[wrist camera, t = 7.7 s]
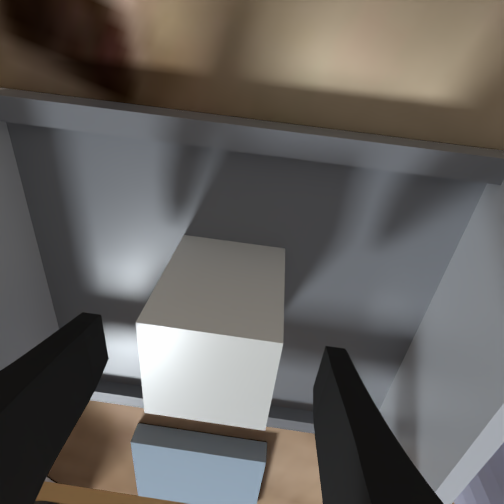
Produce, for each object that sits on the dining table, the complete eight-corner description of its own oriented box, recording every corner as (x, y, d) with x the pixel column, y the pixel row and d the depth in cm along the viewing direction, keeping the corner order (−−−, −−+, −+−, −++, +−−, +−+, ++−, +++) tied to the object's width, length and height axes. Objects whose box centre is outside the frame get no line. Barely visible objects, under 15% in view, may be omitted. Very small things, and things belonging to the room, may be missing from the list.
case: (518, 152, 11) (682, 231, 7) (382, 423, 19) (413, 548, 14) (-15, 85, 12) (-219, 114, 7) (64, 376, 20) (-8, 482, 15)
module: (285, 248, 14) (283, 343, 9) (271, 324, 16) (264, 430, 11) (183, 234, 14) (135, 322, 9) (183, 312, 16) (144, 412, 11)
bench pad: (267, 442, 21) (265, 462, 20) (253, 504, 25) (252, 523, 24) (138, 423, 21) (130, 442, 20) (145, 487, 26) (139, 505, 25)
